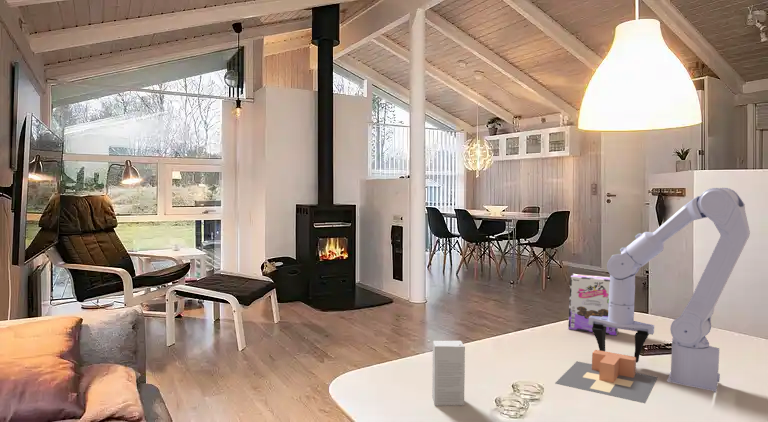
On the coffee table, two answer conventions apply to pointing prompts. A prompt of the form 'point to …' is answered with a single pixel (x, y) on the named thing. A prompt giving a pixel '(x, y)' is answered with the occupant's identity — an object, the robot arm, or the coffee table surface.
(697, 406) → the coffee table surface
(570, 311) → the candy box
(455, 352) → the skincare box
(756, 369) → the coffee table surface
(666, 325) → the coffee table surface
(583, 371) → the charcoal mat
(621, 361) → the rust T block
